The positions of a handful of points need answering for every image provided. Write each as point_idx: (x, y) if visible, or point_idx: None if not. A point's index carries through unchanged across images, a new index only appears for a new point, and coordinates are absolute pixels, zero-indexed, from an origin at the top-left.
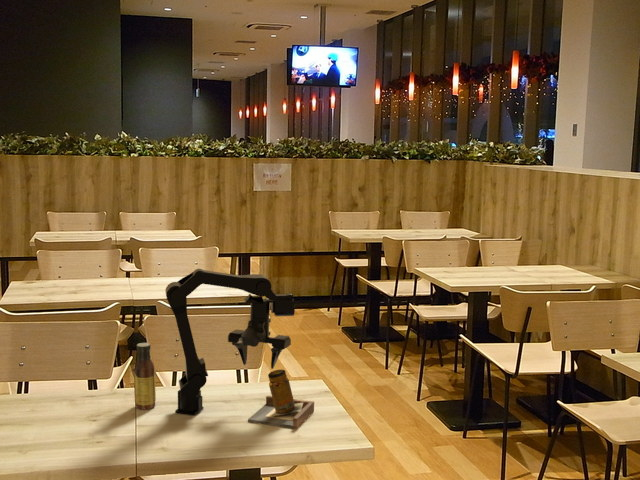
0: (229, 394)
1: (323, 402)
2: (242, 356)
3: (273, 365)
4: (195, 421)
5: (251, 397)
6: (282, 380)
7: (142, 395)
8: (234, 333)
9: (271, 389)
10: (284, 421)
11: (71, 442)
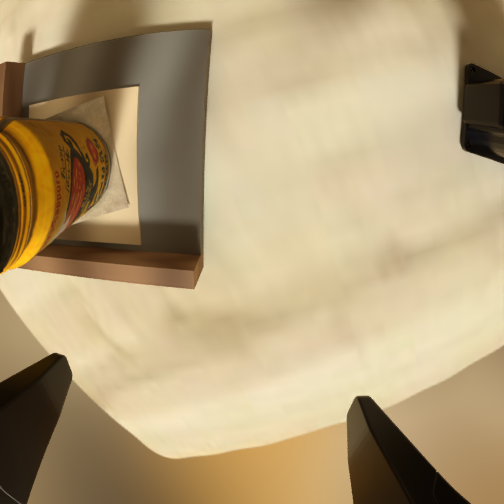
0: (394, 329)
1: (51, 331)
2: (405, 462)
3: (30, 370)
4: (433, 6)
5: (302, 327)
6: None
7: None
8: None
9: (39, 123)
10: (56, 81)
11: None
